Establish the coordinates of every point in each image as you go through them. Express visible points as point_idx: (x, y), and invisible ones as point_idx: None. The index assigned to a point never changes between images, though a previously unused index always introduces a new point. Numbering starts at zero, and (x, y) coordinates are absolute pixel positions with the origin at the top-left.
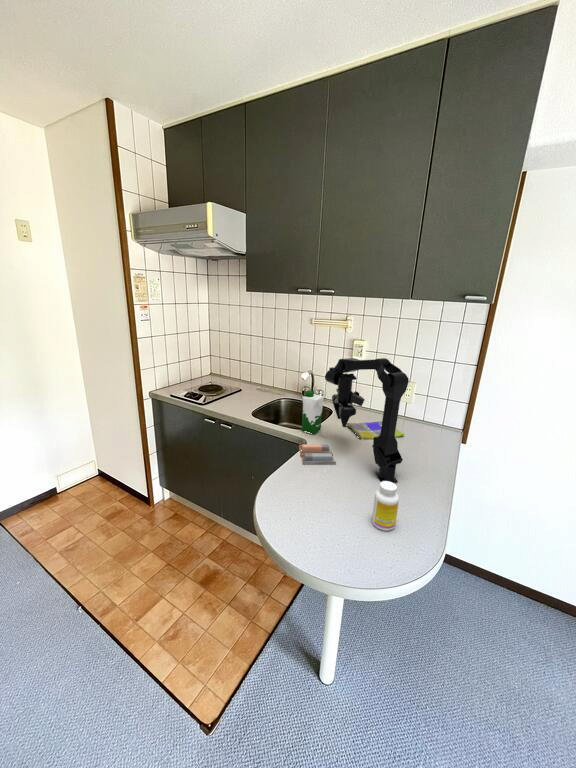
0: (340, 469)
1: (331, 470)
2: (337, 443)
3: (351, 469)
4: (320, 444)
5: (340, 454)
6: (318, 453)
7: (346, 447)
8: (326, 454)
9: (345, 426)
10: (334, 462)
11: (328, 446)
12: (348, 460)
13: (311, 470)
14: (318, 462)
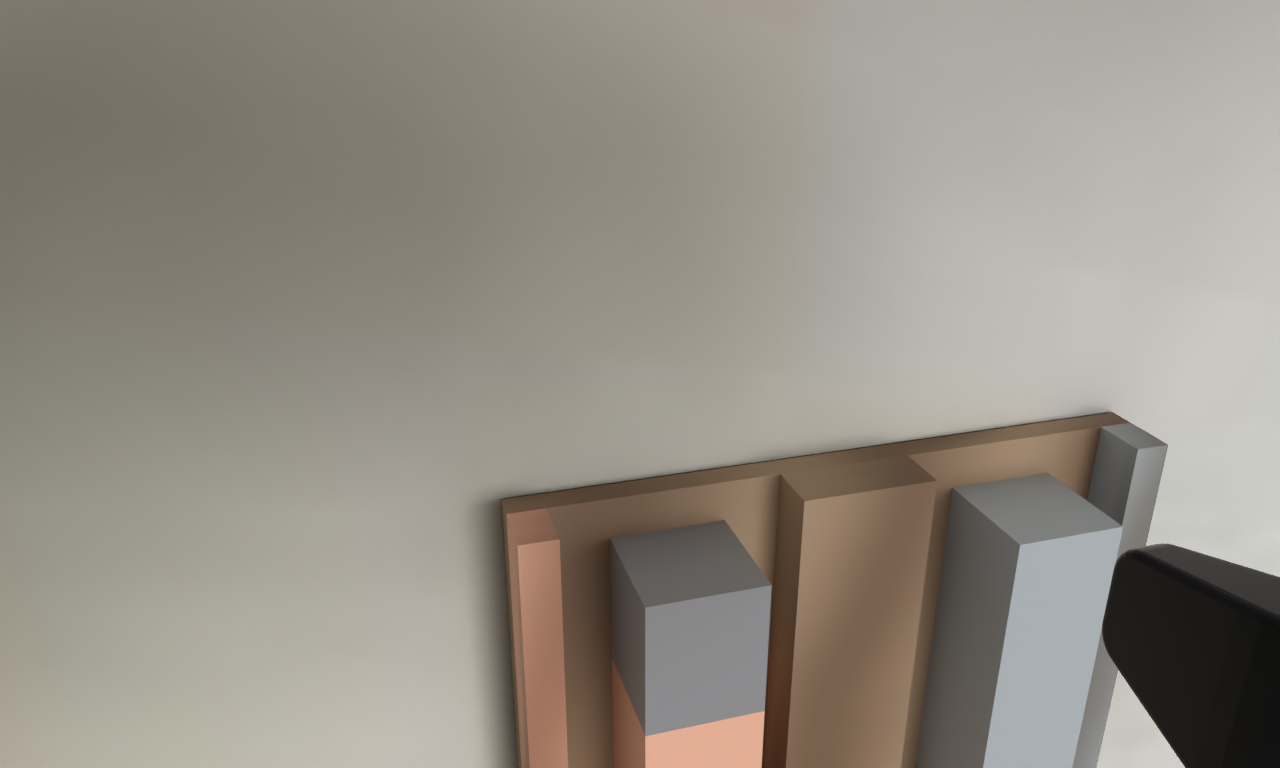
0: (1206, 347)
1: (1198, 478)
2: (166, 269)
3: (1248, 165)
4: (645, 743)
5: (741, 276)
6: (989, 747)
7: (387, 64)
8: (1039, 625)
9: (1193, 562)
10: (1153, 463)
11: (738, 593)
12: (979, 154)
13: (1140, 719)
14: (1104, 688)
